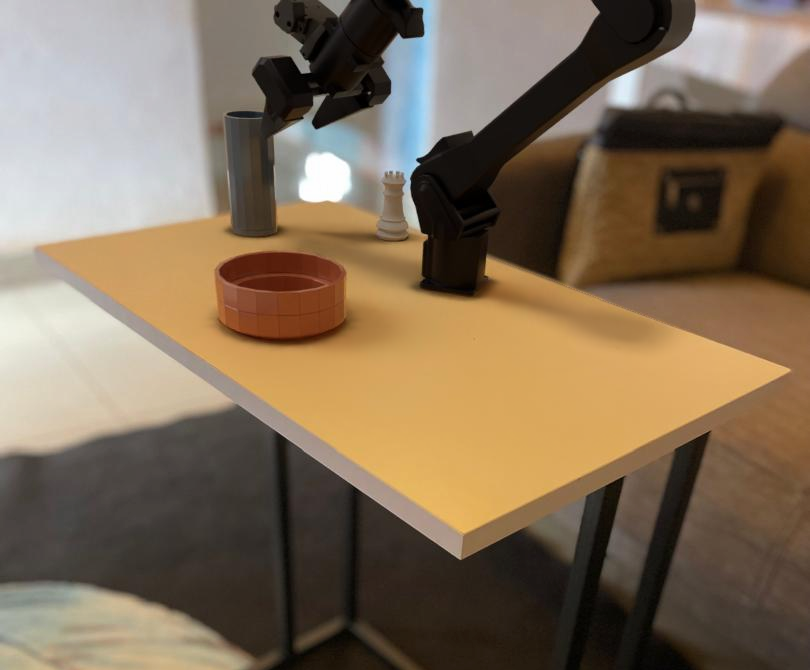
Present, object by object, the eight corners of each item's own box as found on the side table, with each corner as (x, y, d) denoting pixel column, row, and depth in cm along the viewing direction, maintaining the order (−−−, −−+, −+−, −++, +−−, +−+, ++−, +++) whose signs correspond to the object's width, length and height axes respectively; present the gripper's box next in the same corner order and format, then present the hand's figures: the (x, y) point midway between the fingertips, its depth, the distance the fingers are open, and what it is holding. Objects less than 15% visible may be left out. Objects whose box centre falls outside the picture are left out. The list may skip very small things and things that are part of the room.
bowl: (366, 310, 90) (367, 263, 87) (308, 353, 80) (307, 301, 77) (260, 289, 93) (258, 243, 90) (193, 328, 83) (187, 278, 81)
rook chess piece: (368, 236, 112) (369, 172, 107) (388, 229, 115) (390, 167, 110) (396, 243, 110) (398, 178, 105) (415, 236, 113) (418, 173, 108)
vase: (285, 228, 113) (281, 113, 105) (262, 239, 109) (256, 120, 100) (247, 221, 115) (239, 108, 107) (223, 232, 110) (213, 115, 102)
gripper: (374, -34, 95) (303, 66, 107) (259, -36, 83) (193, 77, 94) (427, 53, 96) (351, 143, 108) (321, 64, 84) (248, 164, 95)
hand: (289, 130), depth 101 cm, fingers open, 9 cm apart
